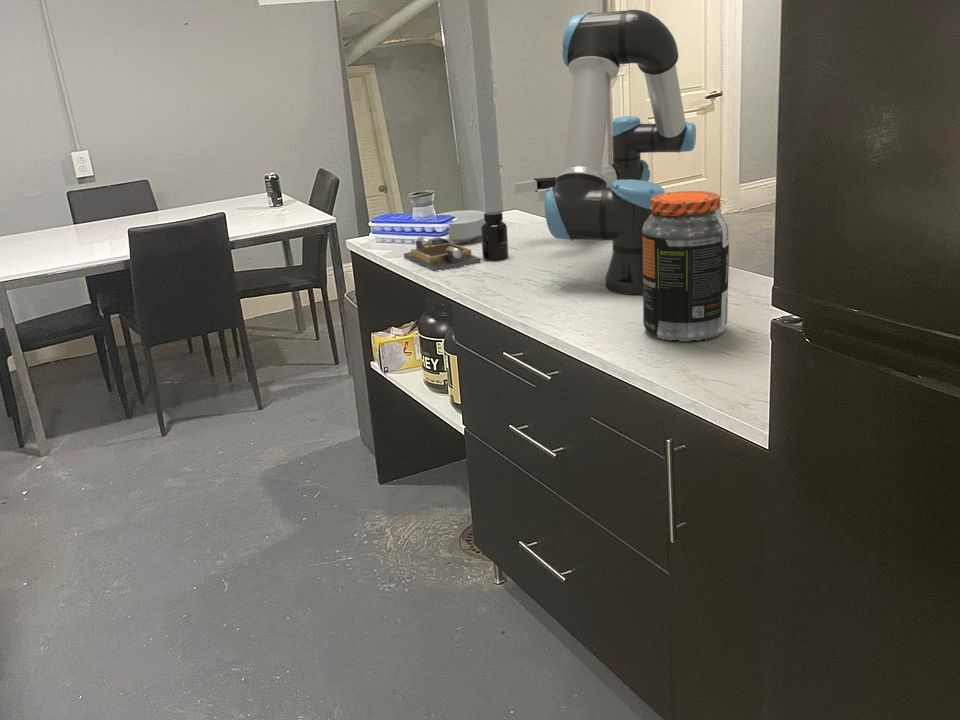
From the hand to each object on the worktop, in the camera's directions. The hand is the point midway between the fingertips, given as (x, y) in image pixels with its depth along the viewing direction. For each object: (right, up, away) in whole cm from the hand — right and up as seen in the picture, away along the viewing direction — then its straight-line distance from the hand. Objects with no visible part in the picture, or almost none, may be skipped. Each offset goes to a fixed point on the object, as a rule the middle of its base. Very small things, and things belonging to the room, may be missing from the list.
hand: (526, 192), depth 237 cm
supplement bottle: (-8, -17, +2) cm, 19 cm away
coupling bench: (-22, -17, +4) cm, 29 cm away
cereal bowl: (-18, -9, +25) cm, 32 cm away
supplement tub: (+27, -39, -63) cm, 79 cm away
